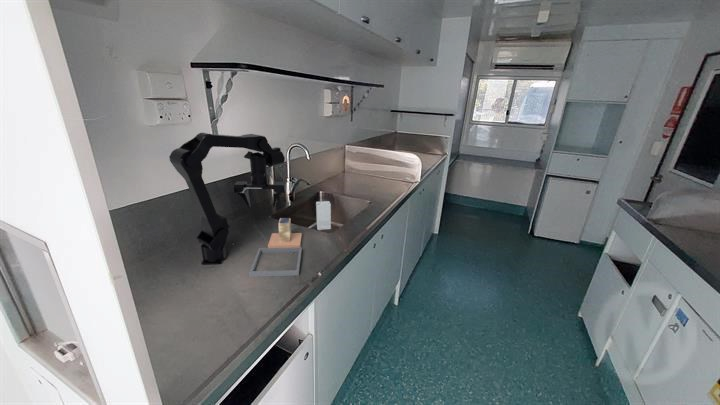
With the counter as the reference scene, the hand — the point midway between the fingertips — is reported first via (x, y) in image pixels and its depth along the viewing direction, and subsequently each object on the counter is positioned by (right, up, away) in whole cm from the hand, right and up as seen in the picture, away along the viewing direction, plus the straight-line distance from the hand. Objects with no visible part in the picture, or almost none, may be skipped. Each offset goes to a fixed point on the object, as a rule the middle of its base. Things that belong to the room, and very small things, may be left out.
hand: (262, 207), depth 113 cm
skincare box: (+22, -9, +15) cm, 29 cm away
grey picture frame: (+9, -19, -12) cm, 24 cm away
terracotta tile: (+9, -14, +2) cm, 16 cm away
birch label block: (+9, -13, +2) cm, 15 cm away
